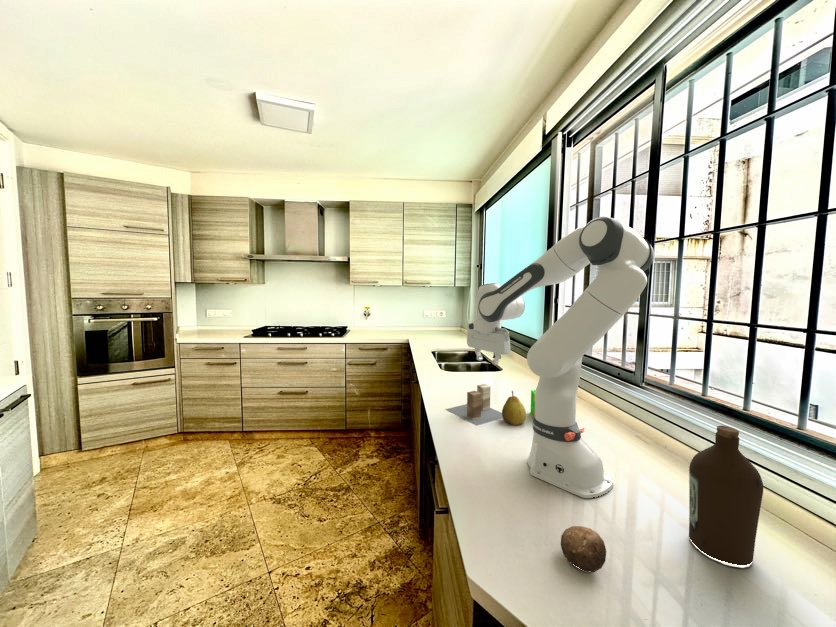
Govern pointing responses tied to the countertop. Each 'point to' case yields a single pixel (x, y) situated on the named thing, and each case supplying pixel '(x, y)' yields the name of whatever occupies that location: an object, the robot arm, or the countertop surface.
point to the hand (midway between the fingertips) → (487, 362)
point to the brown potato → (583, 548)
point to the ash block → (484, 396)
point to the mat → (485, 417)
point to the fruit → (513, 411)
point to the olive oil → (724, 500)
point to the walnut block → (474, 404)
